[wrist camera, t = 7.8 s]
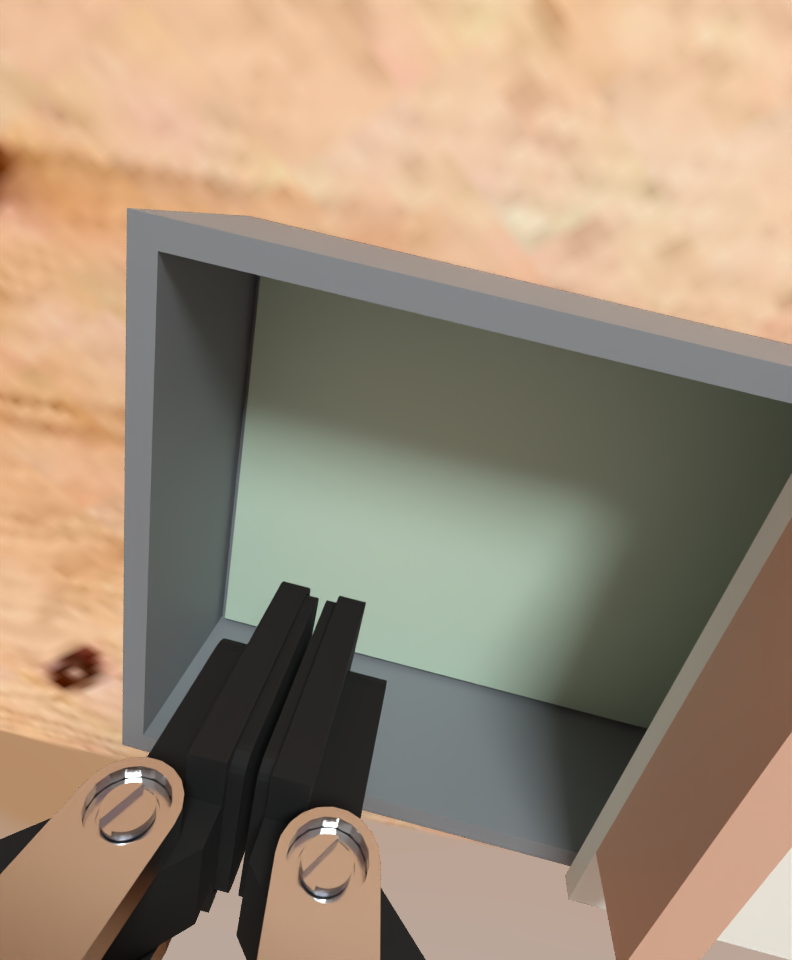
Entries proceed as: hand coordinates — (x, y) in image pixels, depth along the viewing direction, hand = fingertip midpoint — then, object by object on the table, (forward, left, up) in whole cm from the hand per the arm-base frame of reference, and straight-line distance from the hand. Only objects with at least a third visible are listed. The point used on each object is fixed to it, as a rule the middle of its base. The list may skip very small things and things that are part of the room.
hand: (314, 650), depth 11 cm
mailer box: (-5, 0, -8) cm, 9 cm away
